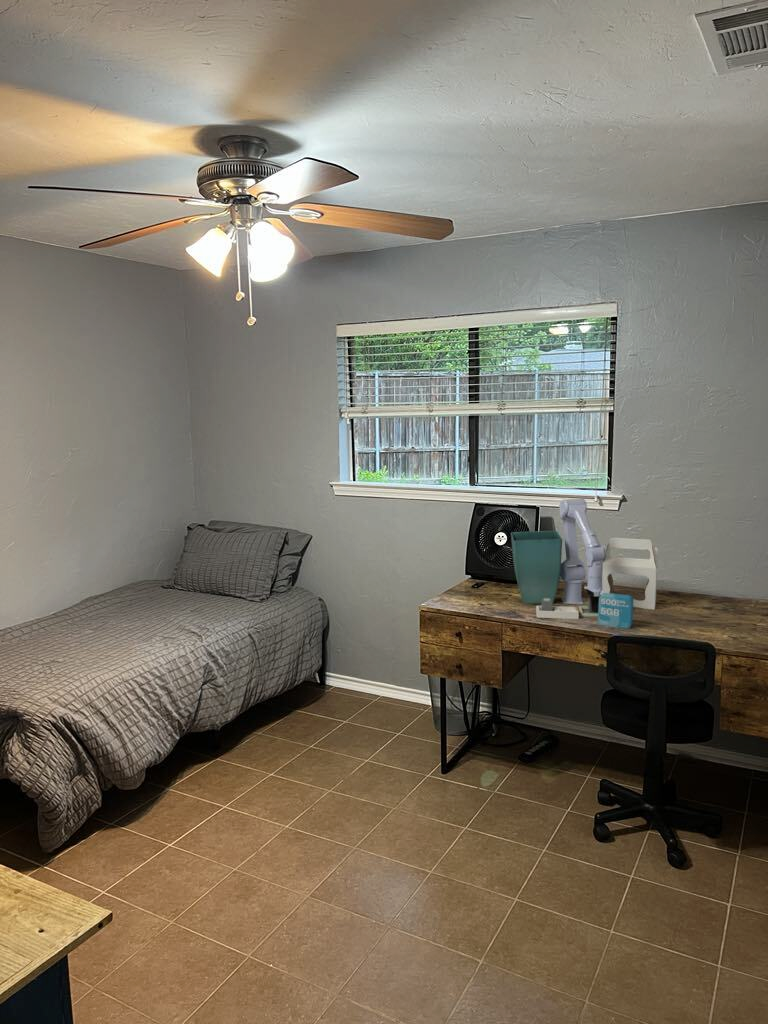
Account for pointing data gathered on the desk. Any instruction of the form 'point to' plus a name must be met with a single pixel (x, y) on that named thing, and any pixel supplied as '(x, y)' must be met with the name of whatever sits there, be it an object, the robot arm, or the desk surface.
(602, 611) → the data package
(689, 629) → the desk surface
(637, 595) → the gable box
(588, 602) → the plug
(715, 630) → the desk surface
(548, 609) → the twin plug
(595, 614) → the tray
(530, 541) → the flower pot
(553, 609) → the cream shallow box
